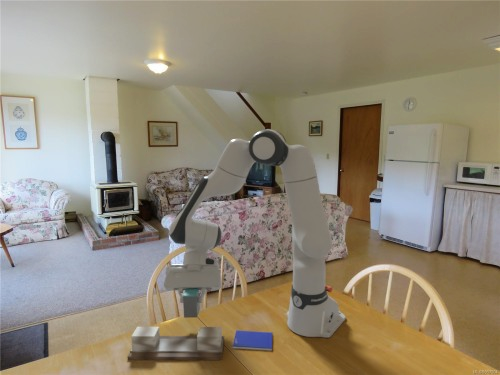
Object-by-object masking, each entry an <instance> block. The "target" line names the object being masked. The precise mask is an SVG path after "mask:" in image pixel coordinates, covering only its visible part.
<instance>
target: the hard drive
mask: <svg viewBox="0 0 500 375" xmlns="http://www.w3.org/2000/svg"><path fill="white" fill-rule="evenodd" d="M232 349H243V350H255V351H256V350H258V351H273V332H267V331H253V330H235V334H234V338H233V342H232Z"/></svg>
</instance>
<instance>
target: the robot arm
mask: <svg viewBox="0 0 500 375" xmlns="http://www.w3.org/2000/svg"><path fill="white" fill-rule="evenodd" d="M255 163H258V164H261V165H265V166H273V167H279V168H280V171H281V173H282V174H281V175H282V178H283V184H284V190H285V196H286V200H287V206H288V208H289V213H290V218H291V222H292V225H291V240H292V241H291V244H292V246H291V247H292V264H293V265H292V285H291V289H290V298H289V305H288V306H289V308H288V310H287V311H286V317H287V322H286V325H287V327H288V328H289V329H290V331H292V332H293V333H295V334H297V335H299V336H304V337H311V338H317V337H319V338H320V337H321V338H326V339H327V338H331V337H332V336H333V334H334V333H335V332H336V331H337V330H338V329H339V327H341V325H342V324H343V322H344V321H345V320H346V316H345V314H344V313H343V312H341V311H340V307H339V306H340V305H339V303H338V302H337V300H335V298H332V297H331V296H330V295H329V294H328V293H332V292H333V287H332V286H330V285H328V284H327V285H326V272H327V271H326V270H327V267H326V266H327V265H326V260H325V257H326V256H327V255H328V254H329V253H330V252H331V249H332V248H333V241H332V240H333V238H332V235H331V232H330V227H329V222H328V219H327V214H326V211H325V208H324V204H323V200H322V197H321V196H322V195H321V190H320V185H319V180H318V179H319V178H318V174H317V170H316V165H315V163H314V159H313V157H312V153H311V151H310V149H309V148H308V147H307V146H305V145H302V144H293V145H290V144H288V143H287V141H286V139H285V136H284V135H283V134H282V133H281V132H279V131H278V130H275V129H270V128H267V129H262V130H259V131H257V132H256V133H254V134H253V136H251V138H250V140H245V139H243V138H233V139H231V140H230V141H229V142H228V143H227V145H226V146H225V147H224V150H223V151H222V154H220V157H219V159H218V161H217V163H216V166H215V168H214V169H213V170H212V171H211V172H210V174H208V175H205V176H202V177H201V178H200V179H199V181H198V182H197V183H196V185H195V186H194V188H193V190H192V191H191V193H190V194H189V196H188V198H187V199H186V200H185V203H184V204H183V206H182V207H181V209H180V211H179V212H178V213H177V214H176V216H175V217H174V218H173V220H172V222H171V223H170V226H169V230H168V235H169V237H170V239H171V240H172V241H173V243H175V244H177V245H178V244H179V245H184V246H185V251H184V255H183V259H182V264H181V263H180V264H179V263H177V264H173V263H172V264H170V265H168V266H167V267H166V269H165V277H164V280H163V281H164V282H163V287H164V289H165V290H166V292H167V291H172V292H173V291H177V293H178V295H179V296H180V299H179V302H180V304H183V294H184V291H185V290H186V289H187V288H199V291H201V294H200V295H199V296H198V300H197V302H198V303H200V304H202V303H203V298H205V296H206V294H207V291H219V290H221V289H222V287H223V285H222V284H223V283H222V280H223V279H222V275H221V270H220V263H219V261H218V260H217V259H215V258H211V257H209V256H208V251H212V250H213V249H215V248H217V247H218V246H219V245H220V244H221V241H222V230H221V227H220V226H219V224H217V223H215V222H212V221H208V220H204V219H203V220H202V219H199V218H194V217H193V216H194V215H195V214H196V212H197V210H198V209H199V207H200V206H201V204H202V202H204V200H206V199H209V198H212V197H213V198H214V197H222V196H224V197H225V196H231V195H234V194H236V193H238V192H239V191H240V190H241V189H242V187H243V186H244V184H245V183H246V180H247V178H248V176H249V173H250V170H251V169H252V166H253V165H254V164H255Z"/></svg>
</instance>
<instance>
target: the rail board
mask: <svg viewBox="0 0 500 375" xmlns="http://www.w3.org/2000/svg"><path fill="white" fill-rule="evenodd" d="M222 332H223V328H222V326H199V328H198V332H197V335H160V334H161V333H160V326H136V329H135V330H134V331H133V333H132V334H131V336H130V337H131V348H130V350H129V352H128V355H127V360H129V361H131V360H140V361H141V360H145V361H146V360H151V361H155V360H156V361H157V360H159V361H163V360H166V361H167V360H168V361H175V360H176V361H221V360H222V358H223V357H222V356H223V350H224V343H225V336H224V335H223V333H222Z"/></svg>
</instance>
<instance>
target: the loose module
mask: <svg viewBox="0 0 500 375" xmlns="http://www.w3.org/2000/svg"><path fill="white" fill-rule="evenodd" d="M182 296H183V303H182V304H183V306H182V307H183V318H186V319H187V318H190V319H192V318H195V319H196V318H199V313H200V310H201V307H200V306H201V305H200V304H201V303H198V302H197V300H198V296H200V290H199V288H187V289H186V290H184V291H183V293H182Z"/></svg>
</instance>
